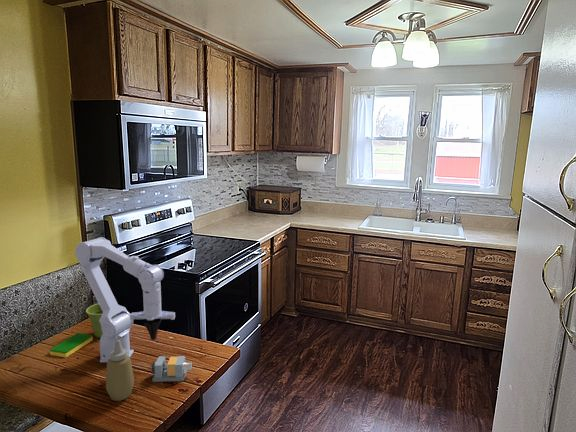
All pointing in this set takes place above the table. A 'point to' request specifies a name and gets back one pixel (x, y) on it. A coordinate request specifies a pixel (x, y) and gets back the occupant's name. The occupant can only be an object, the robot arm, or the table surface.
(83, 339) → the dish sponge
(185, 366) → the shaft
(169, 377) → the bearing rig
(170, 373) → the block
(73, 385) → the table surface
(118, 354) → the squeeze bottle
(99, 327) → the plant pot
